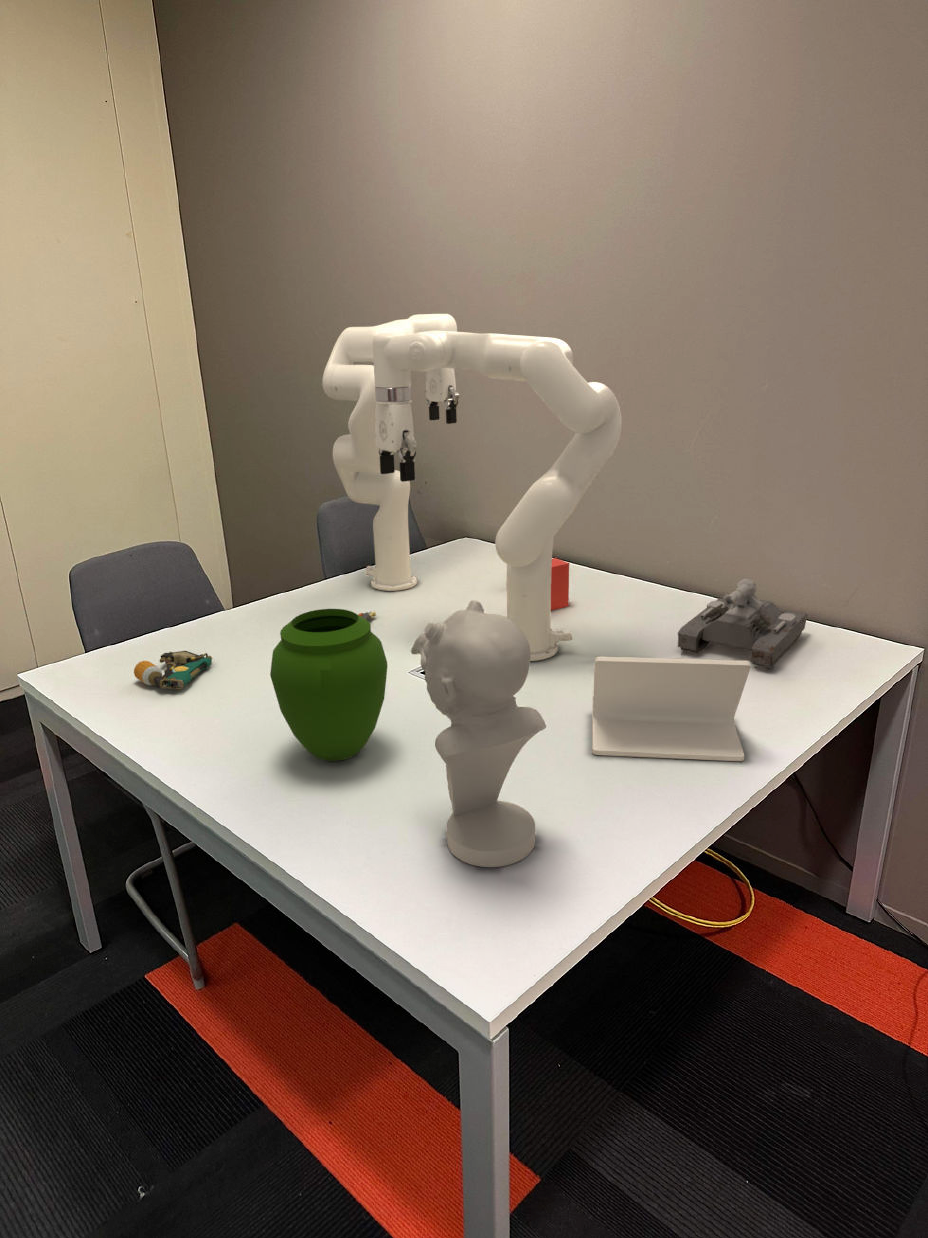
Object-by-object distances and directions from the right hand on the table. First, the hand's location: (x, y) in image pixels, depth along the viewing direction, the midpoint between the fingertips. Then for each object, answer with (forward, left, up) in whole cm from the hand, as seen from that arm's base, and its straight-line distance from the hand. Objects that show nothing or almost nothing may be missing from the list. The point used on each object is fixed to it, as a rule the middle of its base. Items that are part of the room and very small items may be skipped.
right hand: (397, 476), depth 184 cm
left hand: (-23, -66, +2) cm, 70 cm away
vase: (+20, +49, -38) cm, 65 cm away
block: (-38, -11, -38) cm, 54 cm away
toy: (-71, +25, -38) cm, 84 cm away
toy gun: (+13, -9, -38) cm, 41 cm away
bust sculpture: (+3, +78, -38) cm, 87 cm away
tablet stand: (-37, +58, -38) cm, 78 cm away
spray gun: (+50, +7, -38) cm, 63 cm away
